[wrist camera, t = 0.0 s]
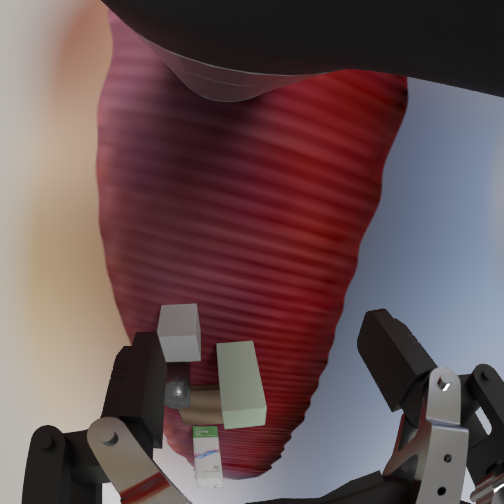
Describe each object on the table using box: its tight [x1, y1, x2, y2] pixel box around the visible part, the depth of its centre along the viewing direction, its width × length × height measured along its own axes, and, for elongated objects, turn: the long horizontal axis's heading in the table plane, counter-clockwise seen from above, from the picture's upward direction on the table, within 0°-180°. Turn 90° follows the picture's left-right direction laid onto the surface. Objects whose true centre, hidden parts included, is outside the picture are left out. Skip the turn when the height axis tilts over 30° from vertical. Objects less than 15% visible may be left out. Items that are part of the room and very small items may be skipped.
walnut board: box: [178, 385, 224, 425], centre depth 40 cm, size 12×12×1 cm
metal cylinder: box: [164, 362, 191, 409], centre depth 32 cm, size 4×4×6 cm
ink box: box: [193, 426, 223, 488], centre depth 41 cm, size 8×5×12 cm, turn 174°
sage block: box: [216, 341, 267, 429], centre depth 30 cm, size 5×5×10 cm
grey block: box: [157, 304, 201, 362], centre depth 29 cm, size 4×4×5 cm
